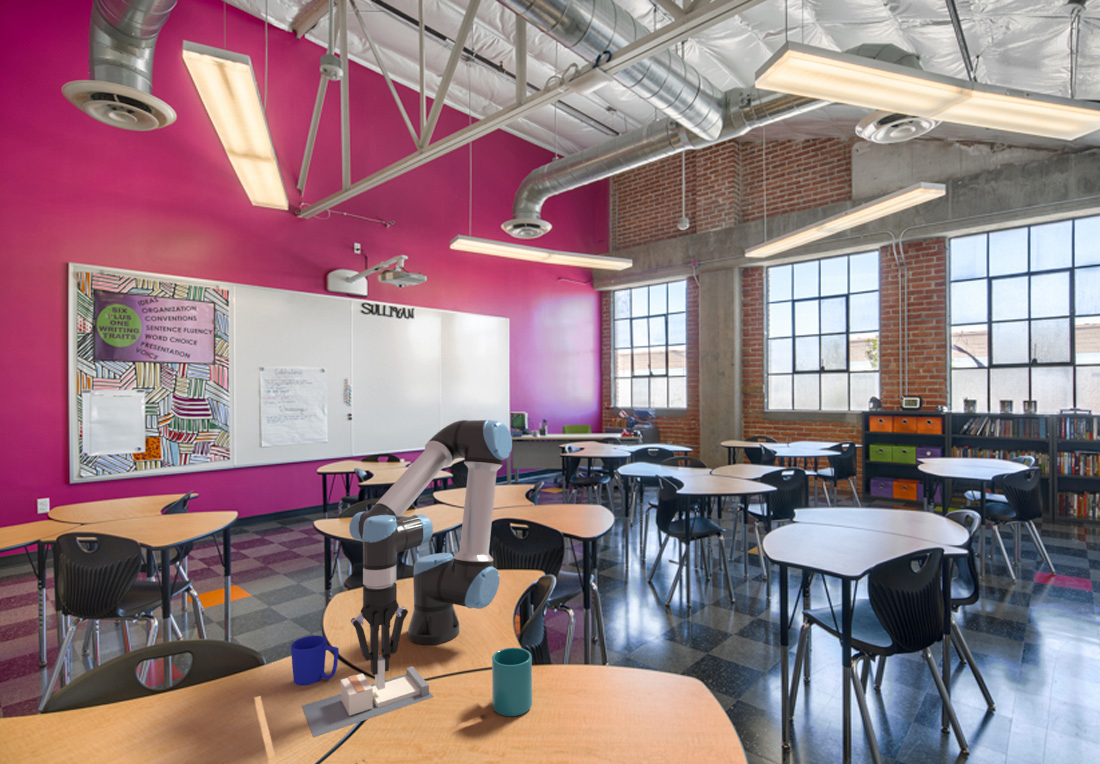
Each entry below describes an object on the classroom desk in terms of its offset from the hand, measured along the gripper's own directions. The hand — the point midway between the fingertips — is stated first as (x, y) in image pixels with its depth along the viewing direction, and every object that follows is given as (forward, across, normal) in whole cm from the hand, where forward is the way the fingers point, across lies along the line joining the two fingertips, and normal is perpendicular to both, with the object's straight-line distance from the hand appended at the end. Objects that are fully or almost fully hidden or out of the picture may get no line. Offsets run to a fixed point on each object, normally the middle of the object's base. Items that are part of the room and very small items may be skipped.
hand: (379, 686), depth 125 cm
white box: (+2, +5, 0) cm, 6 cm away
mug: (+4, +10, -18) cm, 21 cm away
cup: (+4, -25, +18) cm, 31 cm away
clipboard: (+4, +3, 0) cm, 5 cm away
